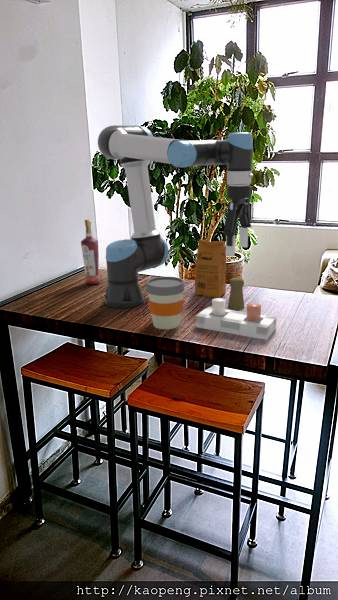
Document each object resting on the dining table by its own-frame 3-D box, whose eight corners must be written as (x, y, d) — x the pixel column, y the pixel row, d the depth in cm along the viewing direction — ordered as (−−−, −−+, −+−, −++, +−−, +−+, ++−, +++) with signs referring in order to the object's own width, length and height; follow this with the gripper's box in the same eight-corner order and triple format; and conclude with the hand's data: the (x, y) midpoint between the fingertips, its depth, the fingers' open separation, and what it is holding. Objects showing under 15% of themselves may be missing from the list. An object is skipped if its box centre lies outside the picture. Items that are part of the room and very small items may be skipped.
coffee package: (201, 288, 190) (201, 236, 182) (229, 292, 184) (230, 238, 176) (190, 295, 181) (190, 241, 174) (218, 299, 175) (219, 243, 168)
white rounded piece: (209, 313, 149) (209, 301, 148) (215, 309, 153) (215, 297, 151) (222, 315, 147) (222, 303, 145) (227, 311, 151) (227, 299, 149)
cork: (244, 310, 164) (244, 280, 160) (227, 309, 165) (227, 280, 161) (244, 304, 169) (245, 276, 166) (228, 303, 171) (229, 275, 167)
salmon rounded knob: (244, 319, 143) (244, 306, 142) (249, 315, 147) (249, 302, 146) (257, 321, 141) (258, 308, 140) (262, 317, 145) (262, 304, 144)
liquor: (104, 282, 202) (100, 219, 192) (94, 286, 196) (88, 221, 187) (92, 280, 205) (86, 218, 196) (81, 284, 199) (75, 220, 190)
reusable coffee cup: (182, 332, 146) (181, 288, 141) (144, 330, 148) (142, 286, 143) (187, 318, 158) (186, 276, 153) (152, 316, 160) (150, 276, 155)
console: (195, 327, 150) (195, 315, 149) (208, 317, 158) (208, 306, 157) (266, 339, 139) (267, 327, 137) (275, 328, 147) (276, 317, 146)
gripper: (238, 189, 130) (235, 260, 137) (261, 181, 151) (258, 244, 158) (213, 188, 133) (212, 258, 140) (239, 181, 154) (238, 242, 161)
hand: (237, 251), depth 149 cm, fingers open, 13 cm apart
